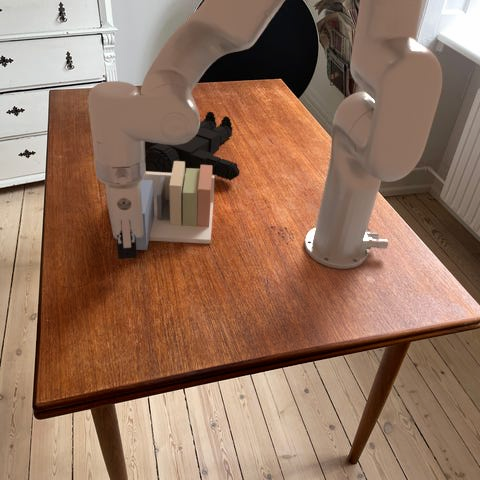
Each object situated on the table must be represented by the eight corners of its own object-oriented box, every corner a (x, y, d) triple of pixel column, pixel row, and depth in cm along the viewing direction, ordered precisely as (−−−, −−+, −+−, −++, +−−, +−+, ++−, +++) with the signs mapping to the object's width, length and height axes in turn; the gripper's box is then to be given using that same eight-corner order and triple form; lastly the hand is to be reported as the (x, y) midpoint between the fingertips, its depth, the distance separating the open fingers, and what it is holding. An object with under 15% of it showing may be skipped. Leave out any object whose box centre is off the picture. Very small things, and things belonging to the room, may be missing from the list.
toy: (275, 131, 125) (216, 175, 103) (271, 158, 130) (214, 207, 107) (167, 98, 136) (92, 131, 113) (166, 125, 140) (94, 162, 118)
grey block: (154, 215, 102) (152, 180, 97) (146, 250, 93) (144, 213, 88) (134, 214, 102) (131, 179, 96) (125, 249, 93) (121, 212, 88)
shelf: (213, 202, 109) (215, 160, 102) (210, 243, 98) (212, 199, 91) (130, 198, 108) (126, 155, 101) (118, 238, 97) (113, 194, 90)
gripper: (150, 190, 71) (153, 282, 83) (141, 141, 83) (144, 228, 94) (96, 194, 70) (107, 287, 81) (94, 142, 81) (103, 231, 92)
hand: (127, 255), depth 88 cm, fingers closed
